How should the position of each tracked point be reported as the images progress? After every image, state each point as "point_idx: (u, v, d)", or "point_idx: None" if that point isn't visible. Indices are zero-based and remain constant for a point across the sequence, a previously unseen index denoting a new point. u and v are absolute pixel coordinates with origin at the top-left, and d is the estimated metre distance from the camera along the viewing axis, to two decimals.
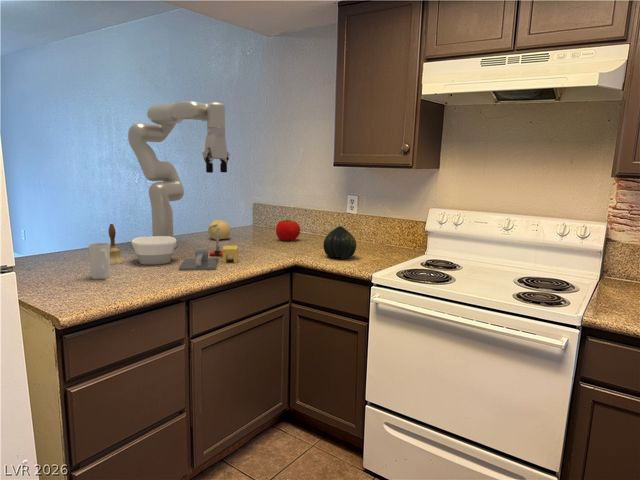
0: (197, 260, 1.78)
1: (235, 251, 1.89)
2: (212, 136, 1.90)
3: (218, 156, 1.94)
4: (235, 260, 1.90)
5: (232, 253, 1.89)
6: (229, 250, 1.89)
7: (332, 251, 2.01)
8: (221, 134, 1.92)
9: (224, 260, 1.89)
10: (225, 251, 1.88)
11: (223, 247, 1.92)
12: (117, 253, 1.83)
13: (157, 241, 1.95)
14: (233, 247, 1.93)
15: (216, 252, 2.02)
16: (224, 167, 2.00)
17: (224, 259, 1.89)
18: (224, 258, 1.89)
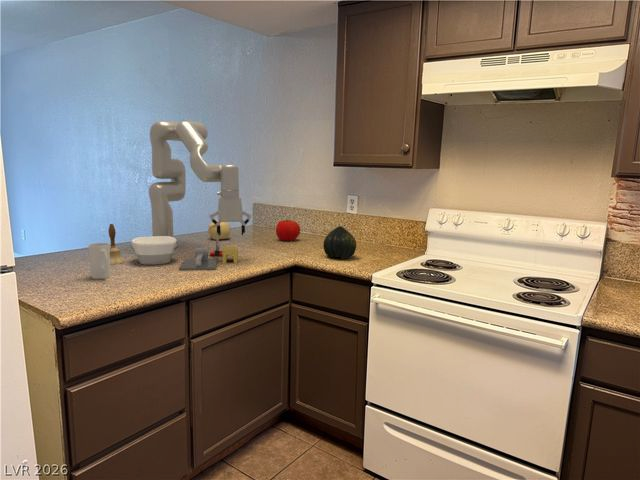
0: (197, 260, 1.78)
1: (235, 251, 1.89)
2: None
3: None
4: (235, 260, 1.90)
5: (232, 253, 1.89)
6: (229, 250, 1.89)
7: (332, 251, 2.01)
8: None
9: (224, 260, 1.89)
10: (225, 251, 1.88)
11: (223, 247, 1.92)
12: (117, 253, 1.83)
13: (157, 241, 1.95)
14: (233, 247, 1.92)
15: (216, 252, 2.02)
16: None
17: (224, 259, 1.89)
18: (224, 258, 1.89)
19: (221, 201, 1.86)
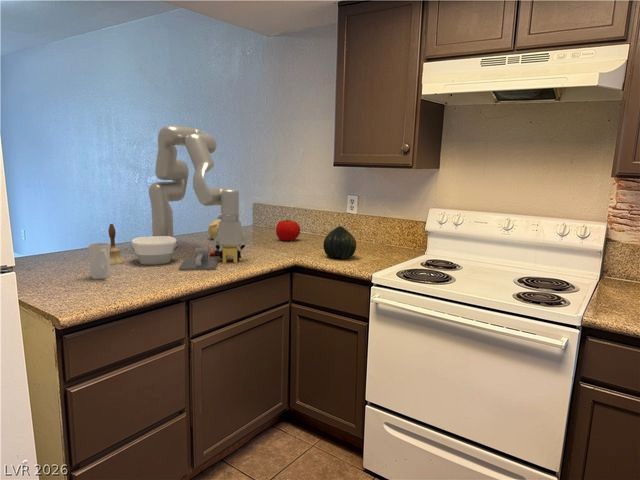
0: (197, 260, 1.78)
1: (235, 251, 1.89)
2: None
3: None
4: (235, 260, 1.90)
5: (232, 253, 1.89)
6: (229, 250, 1.89)
7: (332, 251, 2.01)
8: None
9: (224, 260, 1.89)
10: (225, 251, 1.88)
11: (223, 247, 1.92)
12: (117, 253, 1.83)
13: (157, 241, 1.95)
14: (233, 247, 1.93)
15: (216, 252, 2.02)
16: None
17: (224, 259, 1.89)
18: (224, 258, 1.89)
19: (221, 225, 1.88)
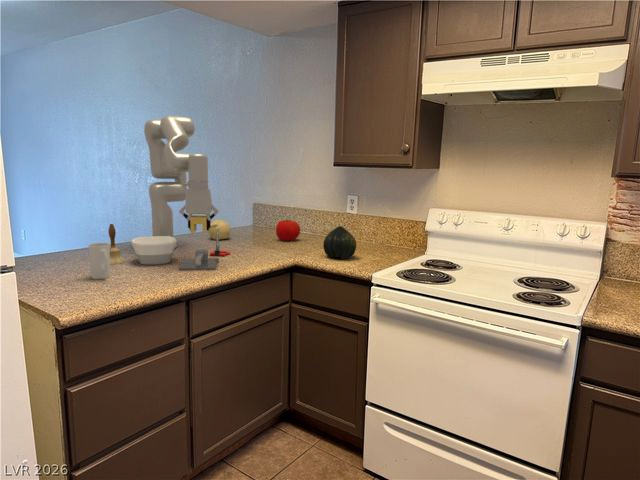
0: (197, 260, 1.78)
1: (204, 220, 1.78)
2: None
3: None
4: (204, 229, 1.78)
5: (201, 222, 1.78)
6: (197, 219, 1.77)
7: (332, 251, 2.01)
8: None
9: (192, 229, 1.78)
10: (193, 220, 1.77)
11: None
12: (117, 253, 1.83)
13: (157, 241, 1.95)
14: (202, 216, 1.81)
15: (216, 252, 2.02)
16: None
17: (192, 228, 1.78)
18: (192, 227, 1.78)
19: (188, 192, 1.77)
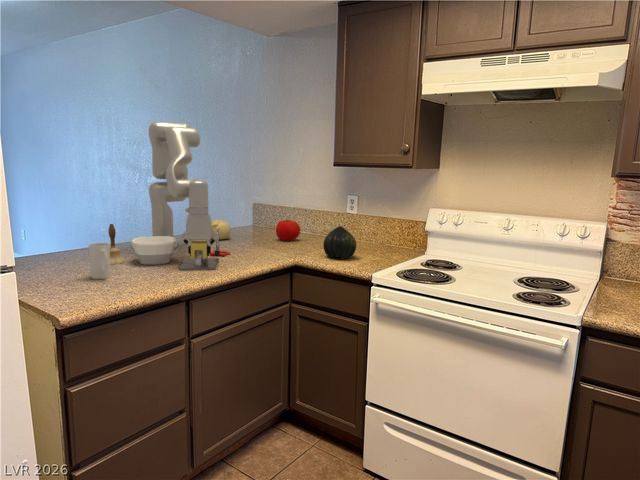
0: (197, 260, 1.78)
1: (204, 246, 1.80)
2: None
3: None
4: (204, 255, 1.80)
5: (201, 248, 1.80)
6: (197, 245, 1.79)
7: (332, 251, 2.01)
8: None
9: (192, 255, 1.80)
10: (193, 246, 1.79)
11: (192, 242, 1.82)
12: (117, 253, 1.83)
13: (157, 241, 1.95)
14: (202, 242, 1.83)
15: (216, 252, 2.02)
16: None
17: (192, 254, 1.79)
18: (192, 253, 1.79)
19: (188, 219, 1.78)
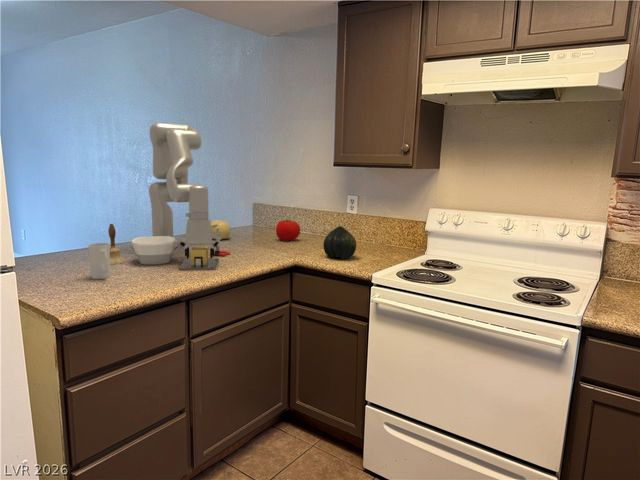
0: (197, 260, 1.78)
1: (204, 252, 1.80)
2: None
3: None
4: (204, 262, 1.81)
5: (201, 255, 1.80)
6: (197, 251, 1.80)
7: (332, 251, 2.01)
8: None
9: (192, 262, 1.80)
10: (193, 252, 1.80)
11: (192, 248, 1.83)
12: (117, 253, 1.83)
13: (157, 241, 1.95)
14: (202, 248, 1.84)
15: (216, 252, 2.02)
16: (188, 252, 1.84)
17: (192, 261, 1.80)
18: (192, 260, 1.80)
19: (189, 223, 1.79)
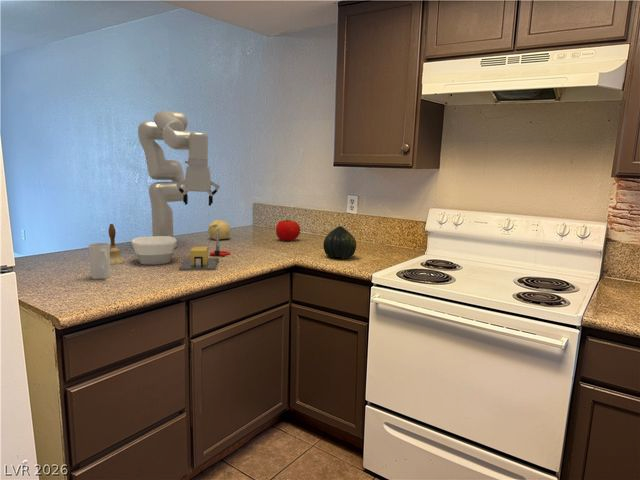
0: (197, 260, 1.78)
1: (204, 252, 1.80)
2: None
3: None
4: (204, 262, 1.81)
5: (201, 255, 1.80)
6: (197, 251, 1.80)
7: (332, 251, 2.01)
8: None
9: (192, 262, 1.80)
10: (193, 252, 1.80)
11: (192, 248, 1.83)
12: (117, 253, 1.83)
13: (157, 241, 1.95)
14: (202, 248, 1.84)
15: (216, 252, 2.02)
16: (187, 199, 1.87)
17: (192, 261, 1.80)
18: (192, 260, 1.80)
19: (188, 170, 1.81)
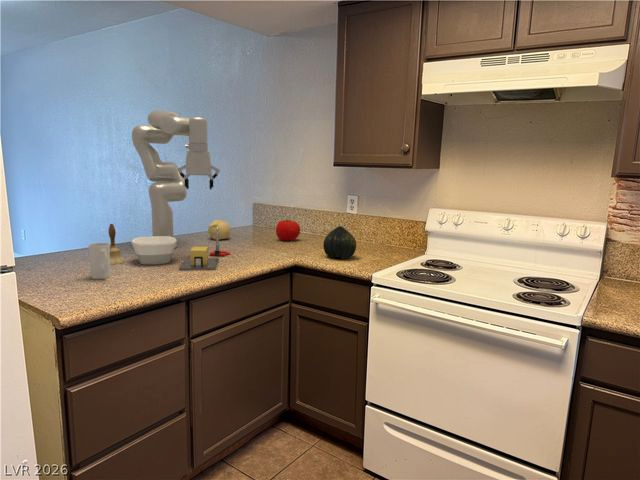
0: (197, 260, 1.78)
1: (204, 252, 1.80)
2: None
3: None
4: (204, 262, 1.81)
5: (201, 255, 1.80)
6: (197, 251, 1.80)
7: (332, 251, 2.01)
8: None
9: (192, 262, 1.80)
10: (193, 252, 1.80)
11: (192, 248, 1.83)
12: (117, 253, 1.83)
13: (157, 241, 1.95)
14: (202, 248, 1.84)
15: (216, 252, 2.02)
16: (188, 183, 1.91)
17: (192, 261, 1.80)
18: (192, 260, 1.80)
19: (188, 154, 1.85)
